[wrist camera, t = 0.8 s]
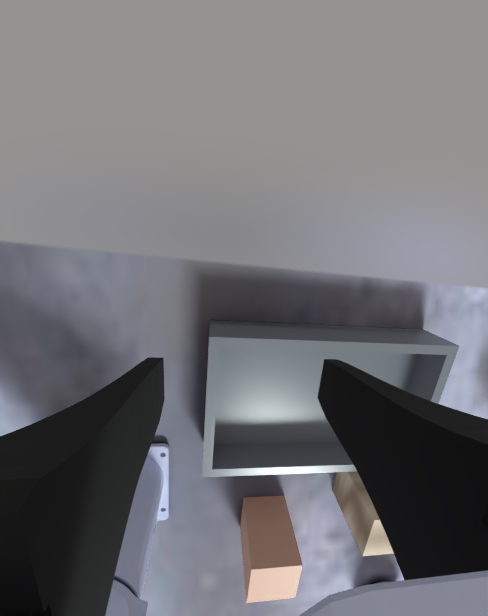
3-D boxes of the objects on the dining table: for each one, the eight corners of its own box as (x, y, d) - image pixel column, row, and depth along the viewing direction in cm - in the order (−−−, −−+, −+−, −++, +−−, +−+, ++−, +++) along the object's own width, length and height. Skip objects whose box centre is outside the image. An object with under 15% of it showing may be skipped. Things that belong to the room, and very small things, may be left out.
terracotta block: (278, 524, 28) (295, 597, 23) (240, 526, 28) (246, 602, 22) (284, 495, 27) (302, 565, 21) (243, 496, 26) (251, 569, 21)
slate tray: (389, 439, 26) (414, 469, 23) (203, 443, 24) (201, 477, 20) (423, 329, 23) (459, 346, 19) (210, 319, 20) (209, 336, 17)
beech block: (368, 487, 28) (408, 552, 22) (332, 489, 28) (362, 556, 22) (378, 456, 27) (422, 516, 21) (339, 458, 26) (374, 520, 21)
